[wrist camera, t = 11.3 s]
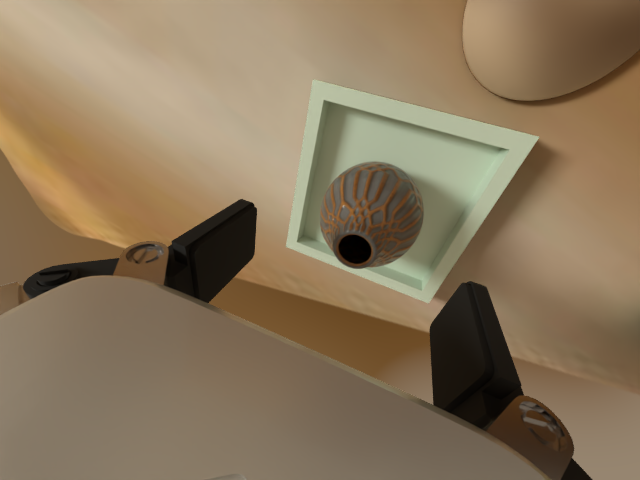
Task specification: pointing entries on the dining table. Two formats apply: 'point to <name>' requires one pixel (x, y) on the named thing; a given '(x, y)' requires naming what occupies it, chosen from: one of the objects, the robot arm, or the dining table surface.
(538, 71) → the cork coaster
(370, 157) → the tray
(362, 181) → the vase
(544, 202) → the dining table surface
